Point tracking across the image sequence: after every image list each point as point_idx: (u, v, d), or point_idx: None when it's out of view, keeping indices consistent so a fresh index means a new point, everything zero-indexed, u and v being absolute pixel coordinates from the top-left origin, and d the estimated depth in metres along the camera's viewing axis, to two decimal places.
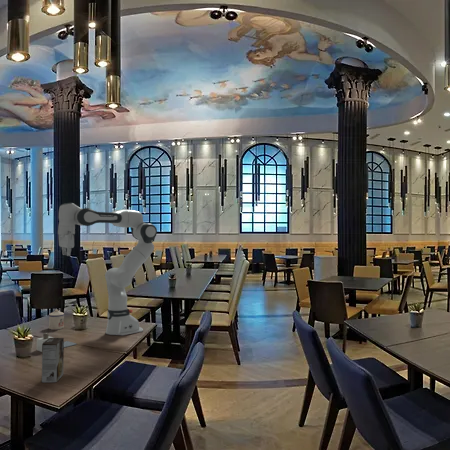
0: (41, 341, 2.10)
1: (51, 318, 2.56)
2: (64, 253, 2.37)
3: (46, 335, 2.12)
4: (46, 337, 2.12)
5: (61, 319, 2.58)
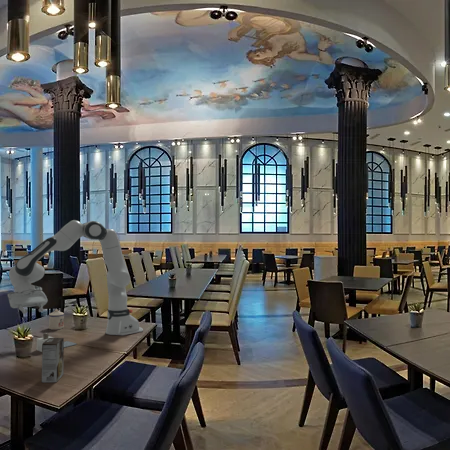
0: (41, 341, 2.10)
1: (51, 318, 2.56)
2: (39, 310, 2.24)
3: (46, 335, 2.12)
4: (46, 337, 2.12)
5: (61, 319, 2.58)
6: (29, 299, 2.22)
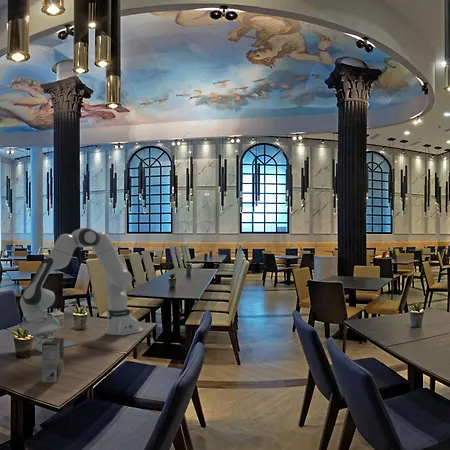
0: (41, 341, 2.10)
1: None
2: None
3: (46, 335, 2.12)
4: (46, 337, 2.12)
5: (61, 319, 2.58)
6: (41, 328, 2.15)
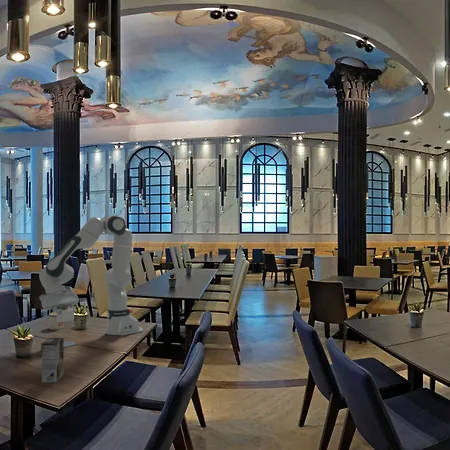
0: (61, 312, 2.19)
1: (51, 318, 2.56)
2: None
3: (66, 306, 2.22)
4: (66, 308, 2.22)
5: None
6: (60, 299, 2.24)
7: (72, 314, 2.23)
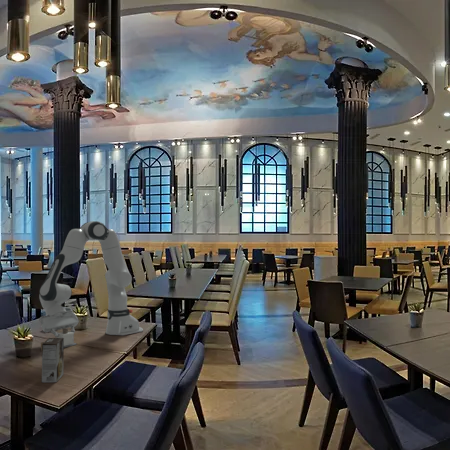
0: (61, 336, 2.19)
1: None
2: (71, 331, 2.26)
3: (65, 330, 2.22)
4: (65, 332, 2.22)
5: None
6: (60, 321, 2.24)
7: (72, 338, 2.23)
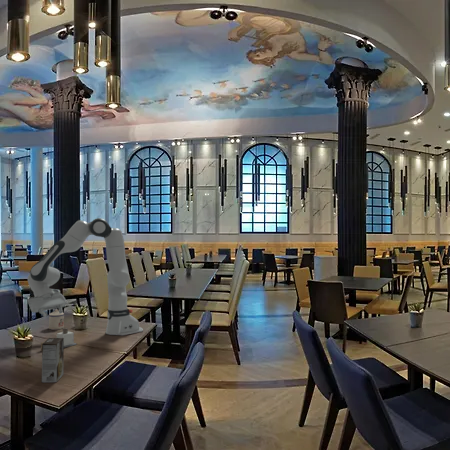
0: (61, 336, 2.19)
1: (51, 318, 2.56)
2: (59, 311, 2.34)
3: (65, 330, 2.22)
4: (65, 332, 2.22)
5: (61, 319, 2.58)
6: (48, 302, 2.32)
7: (72, 338, 2.23)
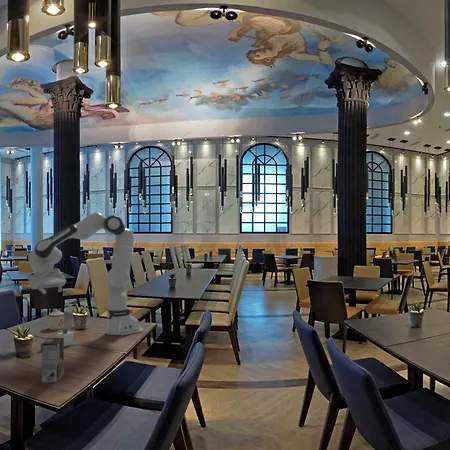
0: (61, 336, 2.19)
1: (51, 318, 2.56)
2: (58, 290, 2.34)
3: (65, 330, 2.22)
4: (65, 332, 2.22)
5: (61, 319, 2.58)
6: (47, 280, 2.32)
7: (72, 338, 2.23)
